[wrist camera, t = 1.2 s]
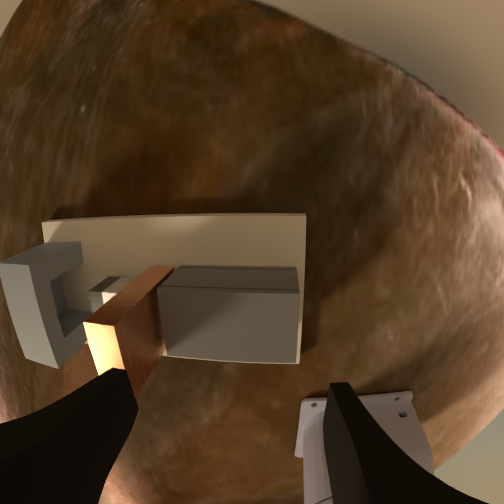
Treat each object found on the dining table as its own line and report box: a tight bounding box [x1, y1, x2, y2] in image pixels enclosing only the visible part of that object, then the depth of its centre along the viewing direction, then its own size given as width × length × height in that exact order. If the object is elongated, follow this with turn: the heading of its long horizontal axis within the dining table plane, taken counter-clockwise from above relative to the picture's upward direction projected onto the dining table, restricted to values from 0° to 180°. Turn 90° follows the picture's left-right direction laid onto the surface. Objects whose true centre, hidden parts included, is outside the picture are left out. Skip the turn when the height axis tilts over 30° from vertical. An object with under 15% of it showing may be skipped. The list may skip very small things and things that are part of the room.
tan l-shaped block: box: [83, 266, 175, 399], centre depth 15 cm, size 12×4×8 cm, turn 91°
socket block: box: [0, 241, 93, 369], centre depth 17 cm, size 4×7×6 cm, turn 1°
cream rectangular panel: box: [42, 213, 306, 364], centre depth 18 cm, size 19×10×5 cm, turn 91°
